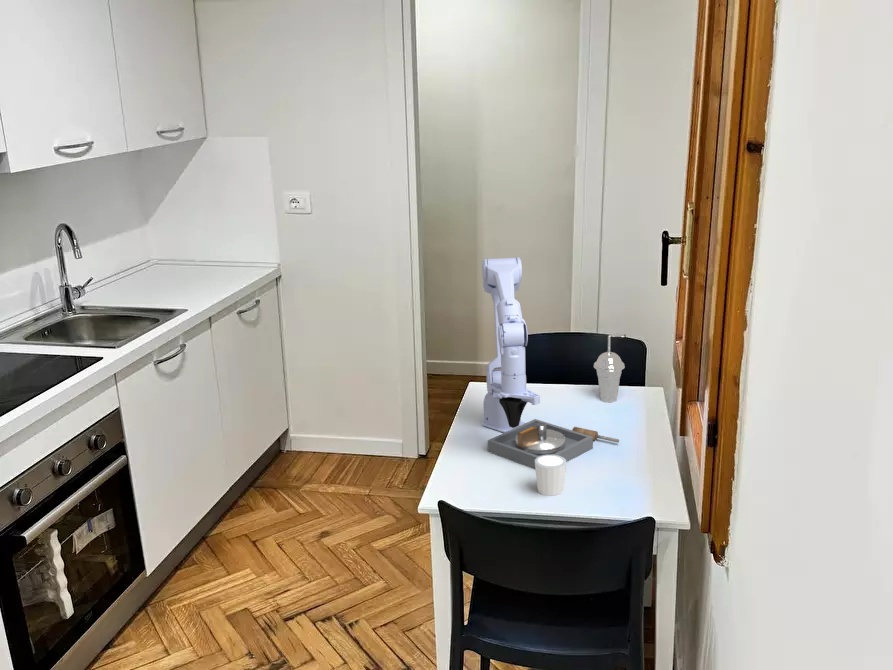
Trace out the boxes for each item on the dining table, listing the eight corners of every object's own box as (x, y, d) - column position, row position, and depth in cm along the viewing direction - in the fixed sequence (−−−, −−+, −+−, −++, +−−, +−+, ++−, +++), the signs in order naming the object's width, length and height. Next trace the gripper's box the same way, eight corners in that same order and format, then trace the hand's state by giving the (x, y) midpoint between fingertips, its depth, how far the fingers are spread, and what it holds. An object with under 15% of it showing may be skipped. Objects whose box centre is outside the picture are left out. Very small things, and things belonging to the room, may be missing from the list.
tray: (487, 451, 202) (487, 440, 201) (535, 429, 214) (535, 418, 213) (546, 472, 189) (546, 460, 189) (592, 448, 202) (592, 436, 201)
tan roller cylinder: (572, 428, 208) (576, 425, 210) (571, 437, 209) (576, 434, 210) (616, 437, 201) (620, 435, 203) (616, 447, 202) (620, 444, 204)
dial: (536, 430, 209) (536, 411, 208) (575, 443, 201) (575, 422, 200) (501, 447, 200) (500, 426, 199) (540, 461, 192) (539, 439, 191)
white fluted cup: (546, 500, 177) (546, 470, 175) (528, 487, 183) (528, 458, 181) (572, 492, 180) (572, 462, 178) (554, 480, 186) (554, 451, 184)
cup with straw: (615, 392, 238) (616, 325, 232) (630, 403, 230) (632, 333, 224) (588, 396, 236) (588, 328, 230) (602, 407, 227) (603, 337, 222)
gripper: (479, 370, 197) (480, 423, 201) (526, 382, 187) (526, 438, 191) (498, 363, 202) (499, 415, 206) (545, 375, 192) (545, 429, 196)
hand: (514, 426), depth 199 cm, fingers closed
